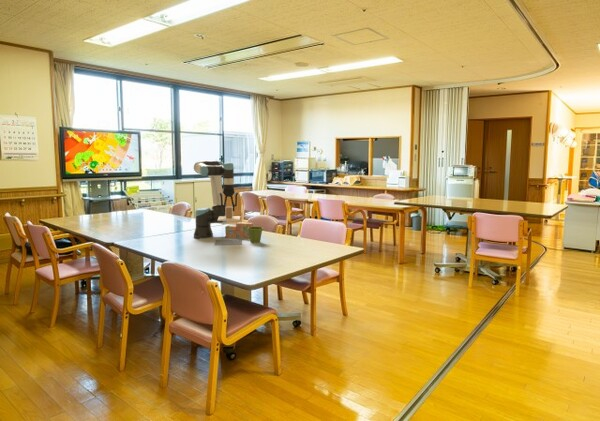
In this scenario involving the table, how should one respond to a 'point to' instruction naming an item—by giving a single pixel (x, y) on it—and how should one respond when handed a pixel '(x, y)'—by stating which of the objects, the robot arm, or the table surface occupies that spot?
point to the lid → (228, 216)
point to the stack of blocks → (238, 230)
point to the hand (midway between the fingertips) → (229, 215)
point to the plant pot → (255, 234)
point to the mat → (228, 242)
